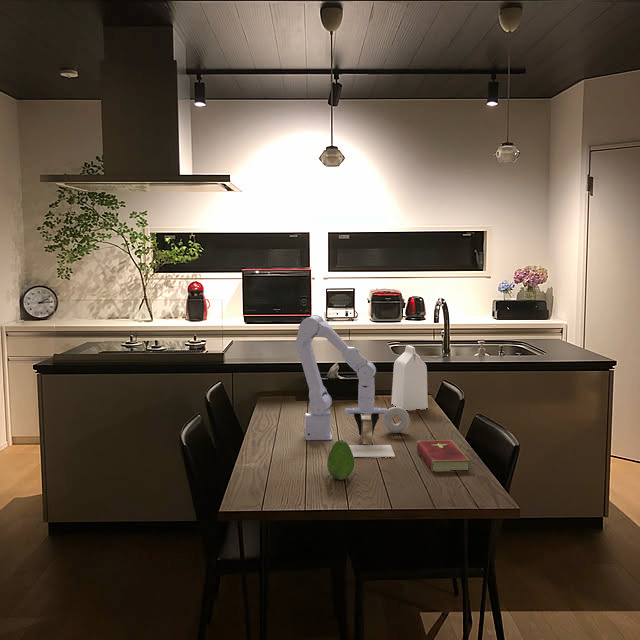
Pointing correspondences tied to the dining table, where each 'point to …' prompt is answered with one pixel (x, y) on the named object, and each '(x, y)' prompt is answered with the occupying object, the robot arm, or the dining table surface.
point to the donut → (402, 424)
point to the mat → (372, 451)
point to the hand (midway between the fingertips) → (365, 434)
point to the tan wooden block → (366, 430)
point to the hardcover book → (442, 455)
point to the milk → (410, 381)
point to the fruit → (340, 460)
